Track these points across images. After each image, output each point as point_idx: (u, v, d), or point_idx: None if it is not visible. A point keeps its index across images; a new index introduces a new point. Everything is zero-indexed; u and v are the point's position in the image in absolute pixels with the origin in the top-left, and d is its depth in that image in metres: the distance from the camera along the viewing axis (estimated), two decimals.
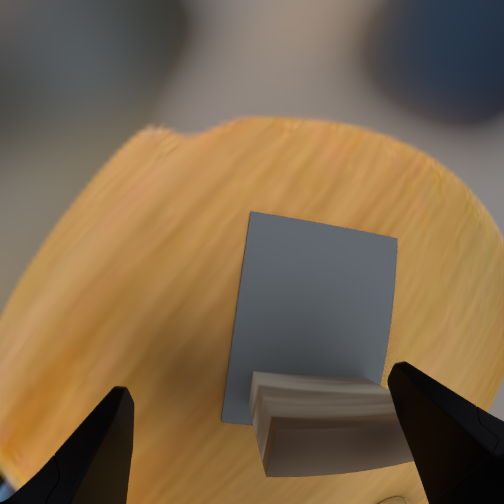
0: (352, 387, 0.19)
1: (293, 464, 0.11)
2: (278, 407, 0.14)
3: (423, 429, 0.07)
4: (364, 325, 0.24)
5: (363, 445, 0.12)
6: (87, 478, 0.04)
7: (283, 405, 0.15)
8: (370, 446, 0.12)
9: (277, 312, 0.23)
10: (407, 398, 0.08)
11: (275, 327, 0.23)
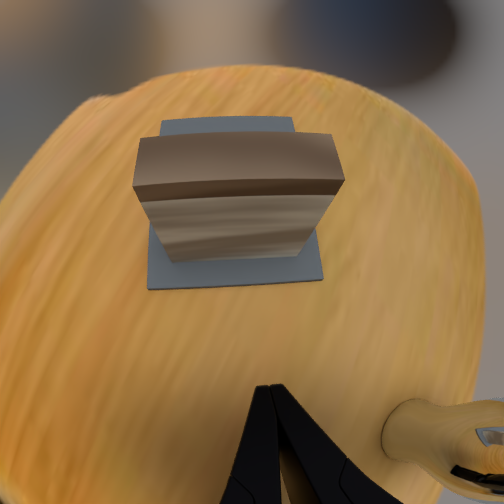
0: None
1: (159, 168, 0.13)
2: None
3: (287, 466, 0.06)
4: None
5: (234, 148, 0.13)
6: None
7: None
8: (245, 150, 0.13)
9: None
10: None
11: None
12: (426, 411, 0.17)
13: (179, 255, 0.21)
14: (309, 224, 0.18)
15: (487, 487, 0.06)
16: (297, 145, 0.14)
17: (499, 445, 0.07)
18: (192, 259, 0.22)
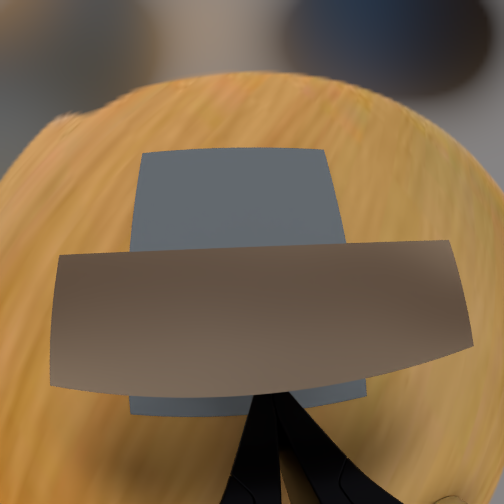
0: None
1: (96, 351, 0.05)
2: None
3: (287, 466, 0.06)
4: None
5: (270, 299, 0.06)
6: None
7: None
8: (296, 305, 0.06)
9: (179, 248, 0.18)
10: None
11: None
12: None
13: None
14: None
15: None
16: (401, 278, 0.06)
17: None
18: None
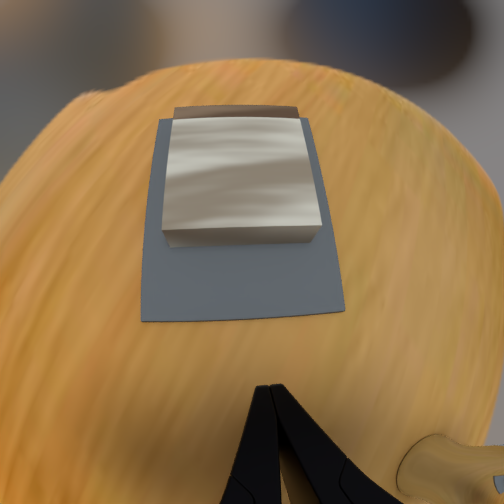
0: None
1: None
2: None
3: (287, 466, 0.06)
4: None
5: None
6: None
7: None
8: None
9: None
10: None
11: None
12: (447, 452, 0.13)
13: (175, 206, 0.18)
14: (300, 151, 0.20)
15: None
16: None
17: None
18: (188, 221, 0.18)
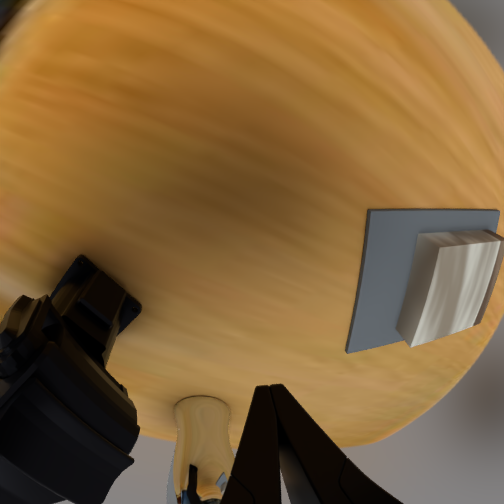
0: None
1: None
2: None
3: (287, 466, 0.06)
4: None
5: None
6: None
7: None
8: None
9: None
10: None
11: None
12: (227, 434, 0.24)
13: (450, 255, 0.19)
14: (454, 329, 0.23)
15: None
16: None
17: None
18: (439, 266, 0.20)
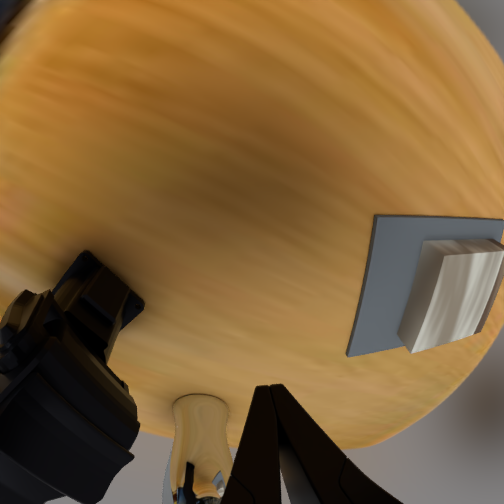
0: None
1: None
2: None
3: (287, 466, 0.06)
4: None
5: None
6: None
7: None
8: None
9: None
10: None
11: None
12: (225, 433, 0.24)
13: (454, 264, 0.19)
14: (455, 337, 0.23)
15: None
16: None
17: None
18: (443, 274, 0.19)
